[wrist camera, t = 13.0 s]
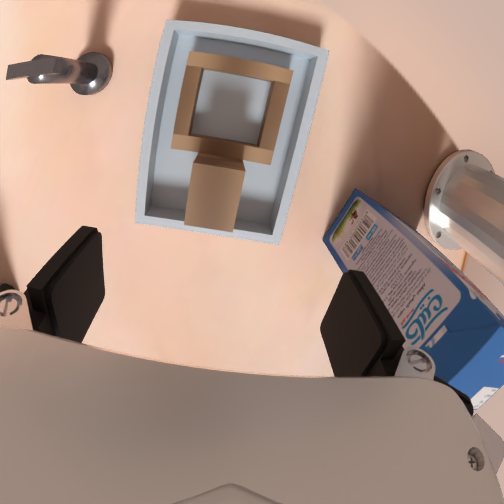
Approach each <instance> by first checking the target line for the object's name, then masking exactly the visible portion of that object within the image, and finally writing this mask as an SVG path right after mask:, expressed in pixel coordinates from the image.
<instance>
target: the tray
mask: <svg viewBox="0 0 504 504" xmlns="http://www.w3.org/2000/svg"><path fill="white" fill-rule="evenodd" d="M190 51H193V52H202V53H209V54H217V55H223V56H229V57H235V58H241V59H246V60H251V61H256V62H260V63H265V64H269V65H274V66H278V67H282V68H286V69H290V70H293V75H292V79H291V83H290V87H289V92H288V96H287V100H286V104H285V108H284V112H283V116H282V120H281V124H280V128H279V133H278V137H277V141H276V145H275V149H274V153H273V157H272V161H271V165H266V164H261V163H256V162H251V161H246V160H243V163H244V167H245V171H246V172H245V177H244V181H243V186H242V191H241V195H240V200H239V205H238V210H237V214H236V219H235V224H234V229H233V233H232V232H226V231H220V230H213V229H207V228H201V227H194V226H188V225H184V220H185V212H186V205H187V198H188V191H189V184H190V178H191V171H192V165H193V162H194V160H195V158H196V156H197V155H198V152H192V151H185V150H177V149H171V143H172V137H173V131H174V125H175V119H176V114H177V108H178V103H179V98H180V93H181V88H182V83H183V78H184V74H185V69H186V65H187V60H188V56H189V52H190ZM328 55H329V50H326V49H323V48H320V47H317V46H313V45H310V44H307V43H303V42H300V41H296V40H293V39H289V38H285V37H281V36H277V35H273V34H269V33H264V32H259V31H254V30H249V29H244V28H238V27H232V26H226V25H219V24H211V23H203V22H193V21H180V20H166V23H165V27H164V30H163V34H162V38H161V42H160V46H159V50H158V55H157V59H156V63H155V68H154V73H153V78H152V83H151V88H150V94H149V99H148V105H147V111H146V117H145V124H144V131H143V138H142V146H141V155H140V164H139V174H138V185H137V199H136V215H135V223H139V224H146V225H153V226H159V227H166V228H173V229H180V230H186V231H193V232H199V233H206V234H213V235H219V236H226V237H232V238H238V239H245V240H251V241H258V242H264V243H270V244H277V245H279V243H280V239H281V236H282V232H283V229H284V225H285V222H286V218H287V214H288V211H289V207H290V203H291V200H292V196H293V192H294V189H295V185H296V181H297V178H298V174H299V170H300V166H301V163H302V159H303V155H304V151H305V147H306V143H307V140H308V136H309V132H310V128H311V124H312V120H313V116H314V112H315V108H316V104H317V100H318V96H319V92H320V88H321V84H322V80H323V76H324V72H325V67H326V63H327V59H328ZM270 86H271V82H268V81H263V80H259V79H254V78H249V77H244V76H239V75H233V74H227V73H221V72H215V71H208V70H204V72H203V77H202V81H201V86H200V90H199V95H198V100H197V105H196V110H195V115H194V120H193V126H192V131H191V133H192V134H199V135H206V136H212V137H218V138H224V139H230V140H236V141H241V142H246V143H251V144H256V145H257V141H258V137H259V132H260V128H261V124H262V119H263V115H264V111H265V107H266V102H267V98H268V94H269V90H270Z"/></svg>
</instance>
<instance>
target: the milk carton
mask: <svg viewBox="0 0 504 504" xmlns="http://www.w3.org/2000/svg"><path fill="white" fill-rule="evenodd" d="M323 242H324V243H325V245H326V246H327V248H328V250H329V251H330V253H331V254H332V256H333V258H334V259H335V261H336V263H337V264H338V266H339V267H340V269H341V271H342V272H343V274H344V273H345V272H347V271H348V270H350V269H351V270H358V271H363V272H364V273H365V274H366V276H367V277H368V279H369V281H370V282H371V284H372V285H373V287H374V288H375V290H376V292H377V293H378V295H379V296H380V298H381V300H382V301H383V303H384V304H385V306H386V308H387V309H388V311H389V313H390V314H391V316H392V318H393V319H394V321H395V323H396V324H397V326H398V328H399V329H400V331H401V333H402V335H403V336H404V338H405V340H406V341H405V342H404V344H403V345H402V346H403V348H404V349H405V348H407V347H417V348H420V349H422V350H424V351H425V352H426V353H428V354H429V355H430V356H431V358H432V359H433V361H434V364H435V374H434V375H435V376H437V377H438V378H440V379H441V380H443V381H445V382H446V383H448V384H449V385H451V386H453V387H454V388H456V389H457V390H459V391H461V392H462V393H464V394H466V395H467V396H468V397H469V398H470V400H471V403H472V405H473V410H476V409H478V408H479V407H480V406H481V405H483V404H484V403H485V402H486V401H487V400H488V399H489V398H490V397H491V396H492V395H493V394H494V393H495V392H496V391H497V390H498V389H500V388H501V386H503V384H504V316H503V315H502V314H501V313H500V312H499V310H498V309H497V308H496V307H495V306H494V305H493V304H492V303H491V302H490V300H488V298H487V297H486V296H485V295H484V294H483V293H482V292H481V291H480V290H479V289H478V288H477V287H476V286H475V285H474V284H473V283H472V282H471V281H470V280H469V279H468V278H467V277H466V276H465V275H464V274H463V273H462V272H461V271H460V270H459V269H458V268H457V267H456V266H455V265H454V264H453V263H452V262H451V261H450V260H449V259H447V258H446V257H445V256H444V255H443V254H442V253H441V252H440V251H439V250H438V249H437V248H435V247H434V246H433V245H432V244H431V243H430V242H429V241H428V240H426V239H425V238H424V237H423V236H422V235H421V234H419V233H418V232H417V231H416V230H415V229H413V228H412V227H411V226H409V225H408V224H406V223H405V222H404V221H402V220H401V219H400V218H398V217H397V216H395V215H394V214H393V213H391V212H390V211H388V210H387V209H386V208H384V207H383V206H381V205H380V204H378V203H377V202H375V201H374V200H372V199H371V198H369V197H368V196H366V195H365V194H363V193H362V192H360V191H359V190H357V189H355V190H354V192H353V193H352V195H351V197H350V198H349V200H348V201H347V203H346V204H345V206H344V208H343V209H342V211H341V212H340V214H339V215H338V217H337V218H336V220H335V221H334V223H333V225H332V226H331V228H330V229H329V231H328V232H327V234H326V235H325V237H324V238H323Z"/></svg>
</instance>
